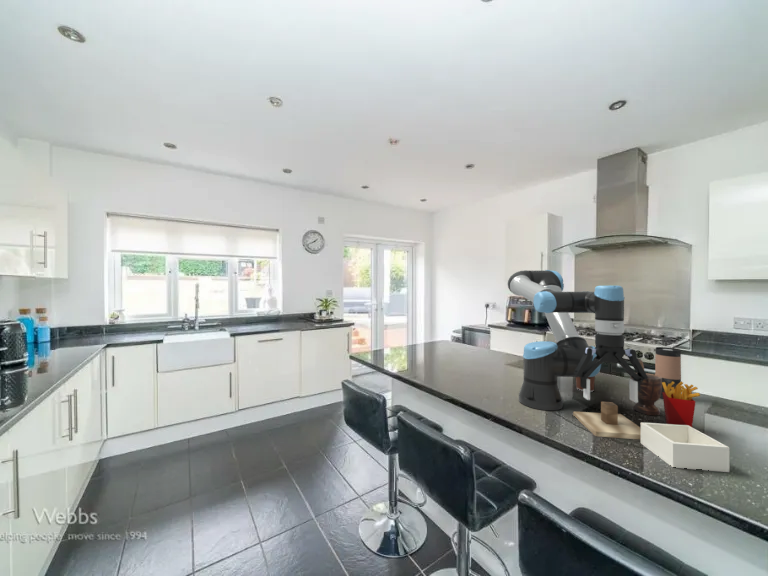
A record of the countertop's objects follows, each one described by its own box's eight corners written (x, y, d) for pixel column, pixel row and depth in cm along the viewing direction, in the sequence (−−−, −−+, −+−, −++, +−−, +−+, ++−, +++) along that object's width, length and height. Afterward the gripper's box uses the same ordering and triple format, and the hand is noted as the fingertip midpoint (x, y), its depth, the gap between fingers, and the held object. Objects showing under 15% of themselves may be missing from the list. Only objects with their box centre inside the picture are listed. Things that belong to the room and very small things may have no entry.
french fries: (661, 420, 102) (661, 376, 102) (695, 426, 98) (695, 380, 98) (669, 431, 95) (669, 383, 95) (706, 438, 90) (706, 387, 90)
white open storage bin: (672, 467, 76) (672, 443, 76) (640, 443, 87) (640, 422, 87) (729, 472, 74) (729, 447, 74) (688, 446, 85) (688, 425, 85)
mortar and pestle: (662, 421, 101) (662, 362, 101) (629, 414, 107) (629, 358, 107) (661, 411, 110) (661, 356, 110) (631, 405, 116) (631, 352, 116)
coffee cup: (570, 389, 134) (570, 362, 134) (576, 384, 140) (576, 358, 140) (594, 394, 127) (594, 366, 127) (600, 389, 133) (600, 362, 133)
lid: (595, 438, 92) (595, 411, 92) (573, 417, 106) (573, 394, 106) (652, 442, 89) (652, 414, 89) (621, 420, 104) (621, 396, 104)
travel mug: (683, 399, 122) (683, 349, 122) (678, 403, 118) (678, 351, 118) (658, 393, 129) (658, 346, 129) (652, 397, 124) (652, 348, 124)
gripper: (572, 334, 96) (572, 401, 96) (662, 336, 92) (662, 406, 92) (562, 331, 103) (562, 393, 103) (644, 332, 99) (645, 397, 99)
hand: (609, 399), depth 97 cm, fingers open, 13 cm apart
